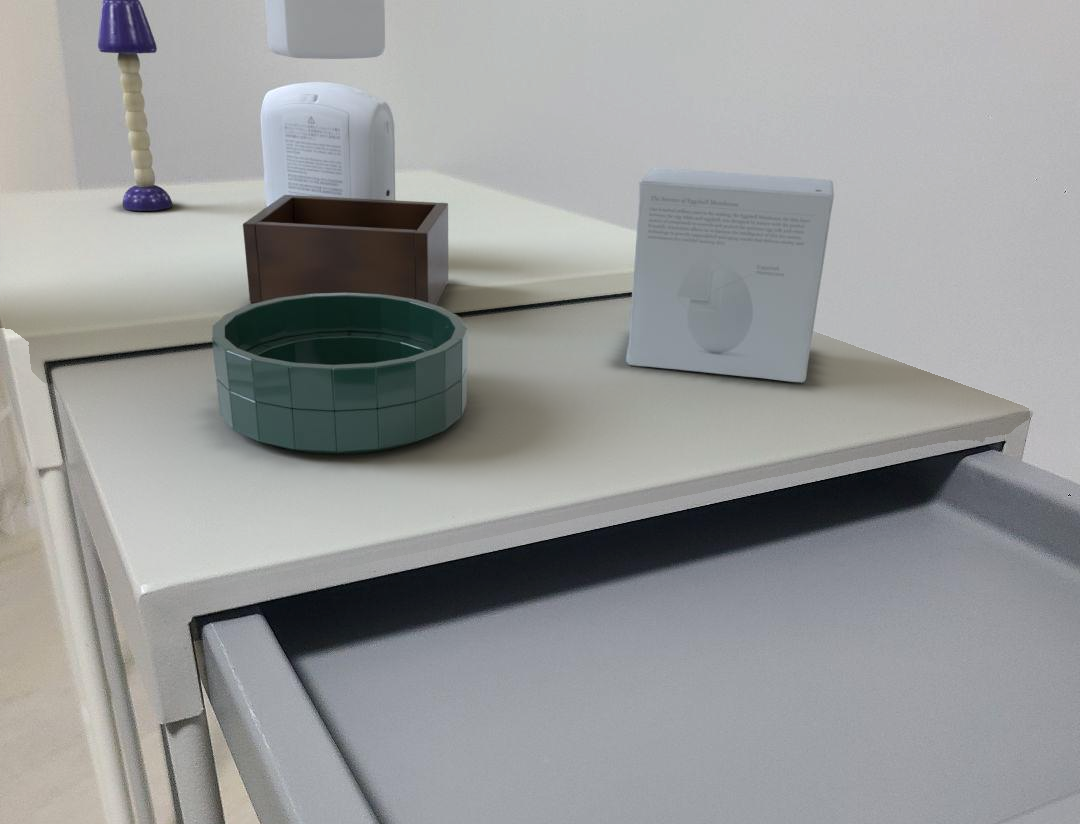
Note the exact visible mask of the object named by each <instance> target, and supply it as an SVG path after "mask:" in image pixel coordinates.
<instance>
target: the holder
mask: <svg viewBox="0 0 1080 824" xmlns="http://www.w3.org/2000/svg"><path fill="white" fill-rule="evenodd" d="M242 233H243V240H244V241H243V243H244V252H245V253H244V254H245V262H246V263H245V264H246V265H245V266H246V273H247V274H246V275H247V285H248V296H249V305H250V304H255V303H259V302H263V301H267V300H272V299H276V298H281V297H289V296H297V295H305V294H319V293H365V294H382V295H391V296H397V297H404V298H411V299H415V300H420V301H423V302H426V303H430V304H433V305H437V306H438V303H439V301H440V299H441V297H442V295H443V294H444V291H445V289H446V287H447V286H448V284H449V203H448V202H433V201H417V200H415V201H414V200H397V199H395V200H377V199H357V198H338V197H319V196H299V195H295V196H294V195H283V196H282V197H281V198H279V199H278V200H276V201H275V202H273V203H272V204H271V205H269V206H268V207H265V208H263V209H262V210H260V211H259V212H257V213H256V214H254V215H253V216H252V217H251V218H249V219H247V220H246V221H245V222H244V223H242Z"/></svg>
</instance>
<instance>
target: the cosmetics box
mask: <svg viewBox="0 0 1080 824" xmlns="http://www.w3.org/2000/svg"><path fill="white" fill-rule="evenodd" d="M638 187H639V188H638V209H637V210H638V212H637V224H636V225H637V226H636V238H635V251H634V265H633V278H632V292H631V305H630V316H629V317H630V319H629V335H628V336H629V338H628V345H627V347H626V348H627V349H626V355H625V356H626V358H625V362H626V363H627V365H629V366H634V367H635V366H636V367H645V368H647V367H649V368H657V369H658V368H659V369H667V370H668V369H670V370H678V371H688V372H698V373H706V374H716V375H726V376H738V377H747V378H756V379H757V378H758V379H765V380H766V379H767V380H772V381H773V380H774V381H783V382H791V383H804V382H805V381H806V379H807V374H808V373H807V372H808V365H809V358H810V353H811V345H812V340H813V333H814V327H815V320H816V314H817V306H818V301H819V295H820V289H821V282H822V276H823V269H824V262H825V257H826V251H827V250H826V249H827V243H828V236H829V230H830V223H831V218H832V217H831V216H832V209H833V204H834V198H835V191H834V181H833V180H832V179H823V178H811V177H810V178H809V177H808V178H807V177H794V176H780V175H768V174H767V175H766V174H754V173H753V174H752V173H737V172H726V171H725V172H724V171H711V170H710V171H709V170H697V169H696V170H695V169H683V168H672V167H671V168H670V167H654V168H652V169H651V170H650V171H649V172H648V173H647V174H646V175H645V176H644V177H643V178H642V179H641V180H640V181H639V183H638Z"/></svg>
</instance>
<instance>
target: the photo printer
mask: <svg viewBox="0 0 1080 824" xmlns="http://www.w3.org/2000/svg"><path fill="white" fill-rule="evenodd" d="M393 115H394V114H393V112H392V109H391V107H390V104H389V103H388V102H386V101H385V100H384V99H381V98H380V97H378V96H376V95H374V94H373V93H370V92H367V91H365V90H363V89H360V88H357V87H354V86H351V85H350V86H349V85H347V84H342V83H336V82H335V83H334V82H327V81H310V82H298V83H291V84H286V85H283V86H279V87H276V88H273V89H271V90H269V91H267V92H266V94H265V95H264V98H263V100H262V103H261V109H260V132H261V146H262V161H263V171H264V172H263V175H264V186H265V187H264V189H265V204H266V207H268V206H269V205H271V204H272V203H273V202H275V201H276V200H278V199H279V198H281V197H282V196H283V195H294V196H295V195H299V196H319V197H338V198H357V199H377V200H396V149H395V147H396V145H395V144H396V143H395V142H396V141H395V140H396V139H395V122H394V121H395V120H394V116H393ZM266 207H265V208H266Z"/></svg>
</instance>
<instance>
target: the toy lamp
mask: <svg viewBox="0 0 1080 824" xmlns="http://www.w3.org/2000/svg"><path fill="white" fill-rule="evenodd" d="M99 18H100V20H99V30H98V39H97V48H98V50H99V52H101V53H105V54H106V53H108V54H117V65H118V69H119V71H120V72H121V73H120V76H119V82H120V83H119V84H120V86H121V89H122V91H123V94H122V103H123V107H124V109H125V110H126V112H125V115H124V118H125V124H126V127H127V129H128V130H129V131H128V134H127V138H128V140H127V141H128V143H129V146H130V148H131V152H130V157H131V161H132V165H133V167H134V171H133V178H134V182H135V184H136V185H133V186H131V187H129V188H128V189H127V190H126V191H125V193H124V195H123V199H122V208H123V209H124V210H127V211H134V212H137V211H138V212H147V211H148V212H149V211H161V210H165V209H170V208H171V207H173V201H172V198H171V196H170V195H169V193H168V192H167V190H165V189H164V188H162V187H160V186H158V185H157V184H155V182H156V175H155V172H154V171H155V170H154V169H153V168H152V166H153V155H152V152H151V150H150V146H151V137H150V135H149V134H150V133H148V131H147V129H148V119H147V115H146V113H145V112H144V111H145V106H146V105H145V97H144V95H143V93H142V90H143V80H142V77H141V75H140V73H139V72H140V69H141V62H140V58H139V55H138V54H156V53H157V50H158V48H157V43H156V41H155V37H154V35H153V31H152V29H151V26H150V24H149V20H148V18H147V16H146V13H145V9H144V8H143V5H142V3H141V1H140V0H102V2H101V8H100V17H99Z"/></svg>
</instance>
